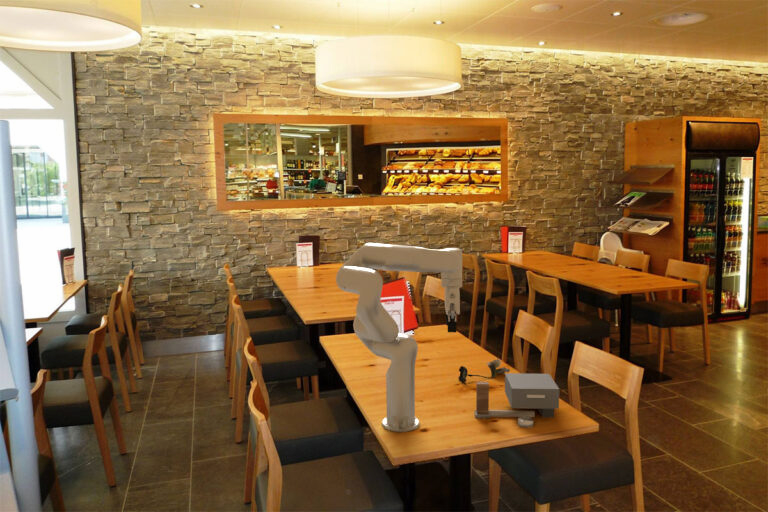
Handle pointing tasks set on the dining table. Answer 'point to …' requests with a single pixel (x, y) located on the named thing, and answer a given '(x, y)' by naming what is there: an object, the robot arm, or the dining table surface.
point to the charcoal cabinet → (532, 392)
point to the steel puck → (525, 422)
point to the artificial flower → (492, 366)
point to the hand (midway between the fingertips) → (451, 328)
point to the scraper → (484, 411)
